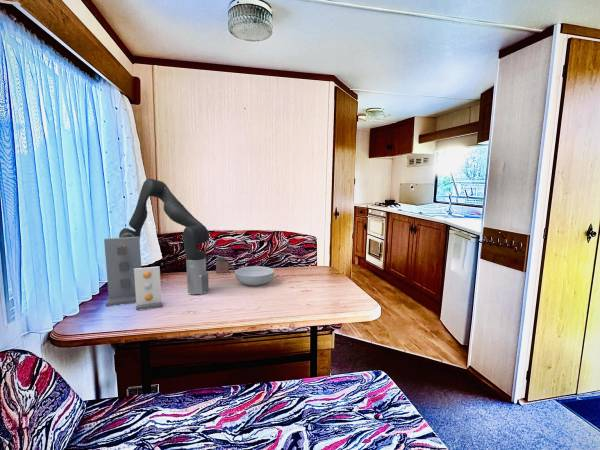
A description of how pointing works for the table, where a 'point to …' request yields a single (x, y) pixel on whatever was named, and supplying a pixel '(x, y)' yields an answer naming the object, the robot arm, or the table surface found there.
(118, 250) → the button top
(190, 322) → the table surface
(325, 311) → the table surface
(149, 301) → the pattern card
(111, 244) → the button panel
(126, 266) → the button middle
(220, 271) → the lighter
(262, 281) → the serving bowl
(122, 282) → the button bottom
